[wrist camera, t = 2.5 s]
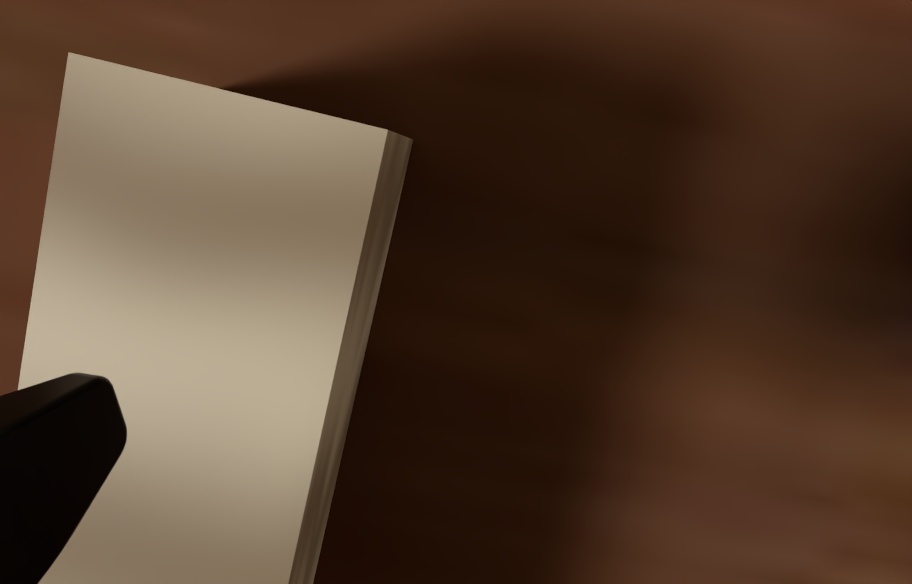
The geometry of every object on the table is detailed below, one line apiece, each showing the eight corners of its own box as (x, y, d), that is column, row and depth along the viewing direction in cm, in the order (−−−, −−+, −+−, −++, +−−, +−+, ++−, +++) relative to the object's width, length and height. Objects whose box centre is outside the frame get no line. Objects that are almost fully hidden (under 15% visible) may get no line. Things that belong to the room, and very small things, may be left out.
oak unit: (283, 714, 22) (202, 972, 15) (89, 672, 22) (-84, 915, 15) (413, 139, 19) (388, 129, 12) (193, 86, 19) (43, 46, 12)
